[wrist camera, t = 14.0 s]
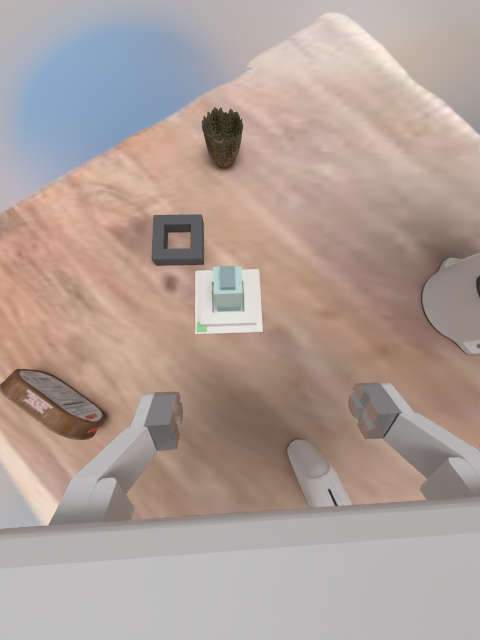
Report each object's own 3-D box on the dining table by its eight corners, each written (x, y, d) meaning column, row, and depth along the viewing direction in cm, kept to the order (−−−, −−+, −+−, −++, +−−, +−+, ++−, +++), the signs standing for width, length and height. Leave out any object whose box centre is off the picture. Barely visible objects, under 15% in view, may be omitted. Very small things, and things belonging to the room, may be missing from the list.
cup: (244, 152, 49) (247, 111, 41) (237, 180, 47) (238, 143, 40) (211, 145, 49) (207, 102, 41) (202, 172, 48) (197, 134, 40)
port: (258, 270, 43) (260, 263, 40) (262, 332, 41) (264, 329, 38) (195, 272, 43) (193, 265, 40) (195, 334, 40) (192, 332, 37)
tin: (34, 381, 38) (-21, 384, 30) (47, 365, 39) (-3, 364, 30) (105, 432, 37) (68, 451, 29) (117, 415, 37) (84, 428, 29)
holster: (203, 222, 45) (201, 214, 43) (203, 264, 43) (202, 258, 41) (157, 223, 45) (153, 215, 42) (156, 265, 43) (151, 259, 40)
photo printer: (333, 498, 36) (385, 565, 24) (309, 511, 35) (349, 585, 23) (305, 434, 38) (340, 465, 26) (282, 445, 37) (306, 482, 25)
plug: (239, 289, 42) (241, 262, 31) (240, 310, 41) (243, 290, 30) (217, 290, 42) (212, 263, 31) (218, 311, 41) (212, 291, 30)
